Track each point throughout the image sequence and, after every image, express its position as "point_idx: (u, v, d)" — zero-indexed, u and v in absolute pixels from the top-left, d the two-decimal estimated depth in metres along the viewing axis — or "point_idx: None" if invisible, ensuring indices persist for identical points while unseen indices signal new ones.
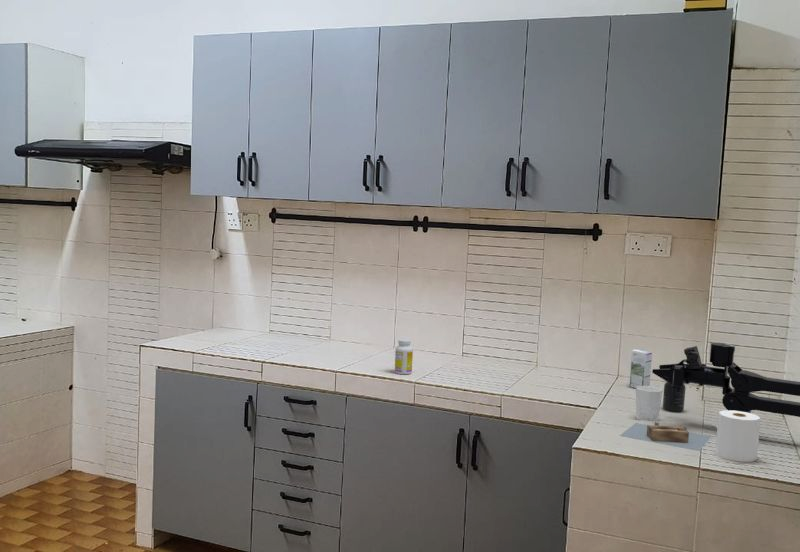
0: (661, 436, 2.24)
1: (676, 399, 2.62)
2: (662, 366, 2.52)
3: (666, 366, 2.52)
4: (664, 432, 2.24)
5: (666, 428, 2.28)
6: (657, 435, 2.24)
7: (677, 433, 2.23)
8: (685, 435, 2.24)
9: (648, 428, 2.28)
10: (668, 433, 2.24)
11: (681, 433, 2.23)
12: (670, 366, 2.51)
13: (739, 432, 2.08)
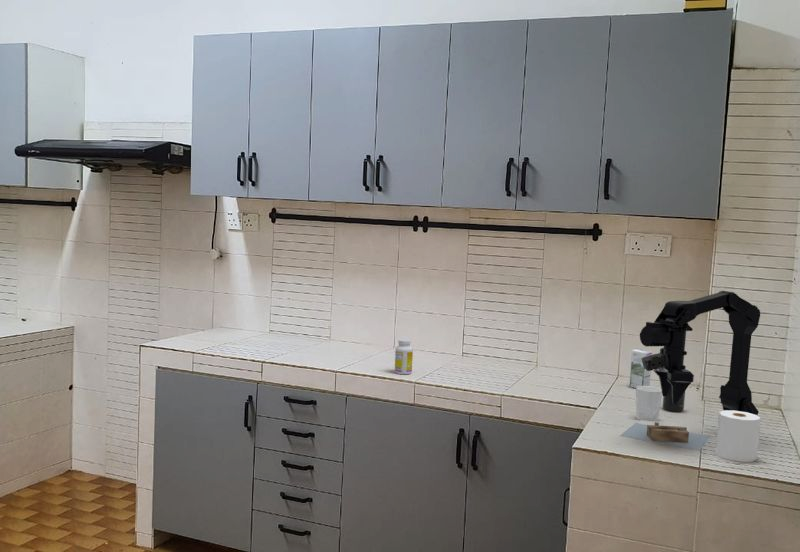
0: (661, 436, 2.24)
1: None
2: (664, 393, 2.30)
3: (663, 388, 2.30)
4: (664, 432, 2.24)
5: (666, 428, 2.28)
6: (657, 435, 2.24)
7: (677, 433, 2.23)
8: (685, 435, 2.24)
9: (648, 428, 2.28)
10: (668, 433, 2.24)
11: (681, 433, 2.23)
12: (663, 384, 2.30)
13: (739, 432, 2.08)
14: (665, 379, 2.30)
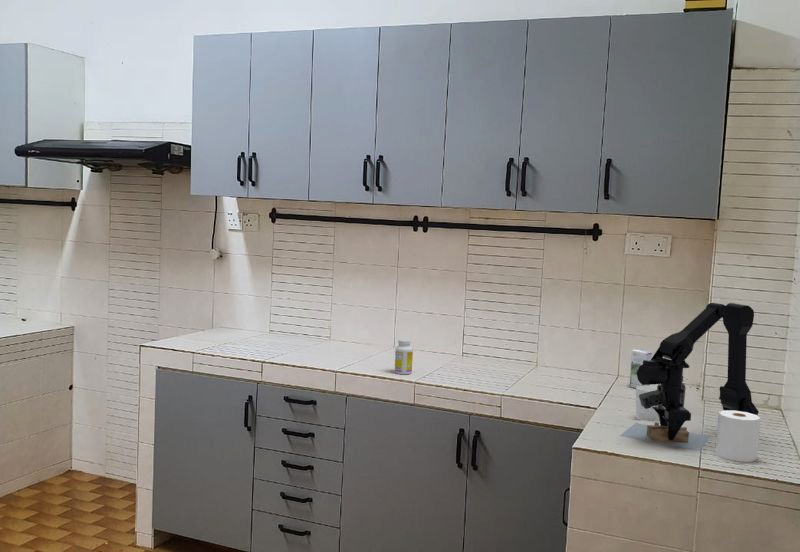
0: (661, 436, 2.24)
1: None
2: None
3: None
4: (664, 432, 2.24)
5: (666, 428, 2.28)
6: (657, 435, 2.24)
7: (677, 433, 2.23)
8: (685, 435, 2.24)
9: (648, 428, 2.28)
10: None
11: (681, 433, 2.23)
12: (662, 422, 2.30)
13: (739, 432, 2.08)
14: (664, 416, 2.30)
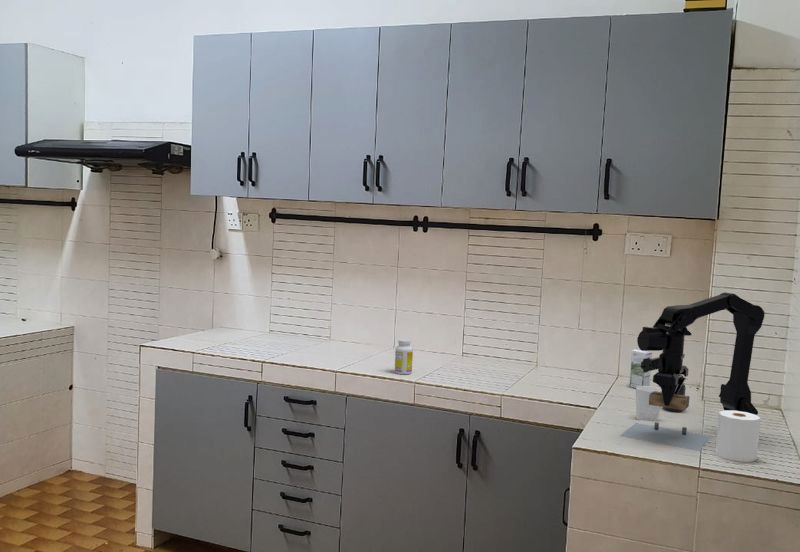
0: (657, 401, 2.28)
1: None
2: None
3: None
4: (660, 397, 2.28)
5: None
6: (653, 399, 2.29)
7: (673, 399, 2.26)
8: (681, 402, 2.25)
9: None
10: None
11: (677, 400, 2.25)
12: None
13: (739, 432, 2.08)
14: None
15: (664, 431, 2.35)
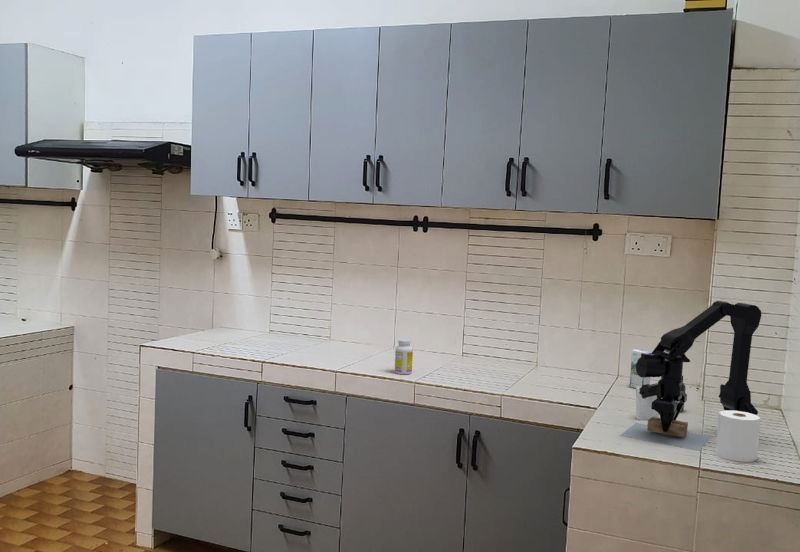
0: (655, 427, 2.30)
1: None
2: None
3: None
4: (658, 423, 2.29)
5: None
6: (652, 425, 2.30)
7: (671, 426, 2.27)
8: (680, 429, 2.26)
9: None
10: None
11: (676, 426, 2.27)
12: None
13: (739, 432, 2.08)
14: None
15: None
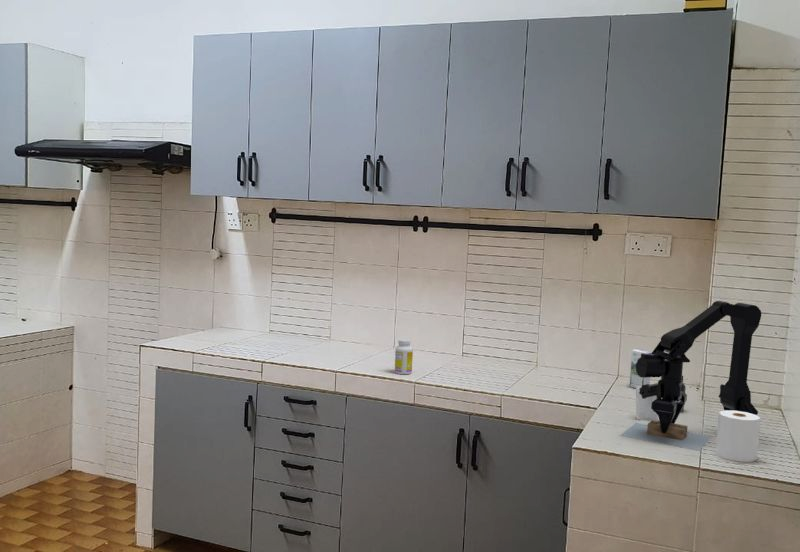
0: (655, 430, 2.30)
1: None
2: None
3: None
4: (658, 427, 2.29)
5: None
6: (651, 429, 2.30)
7: (671, 429, 2.27)
8: (679, 432, 2.26)
9: None
10: None
11: (675, 430, 2.27)
12: None
13: (739, 432, 2.08)
14: None
15: None
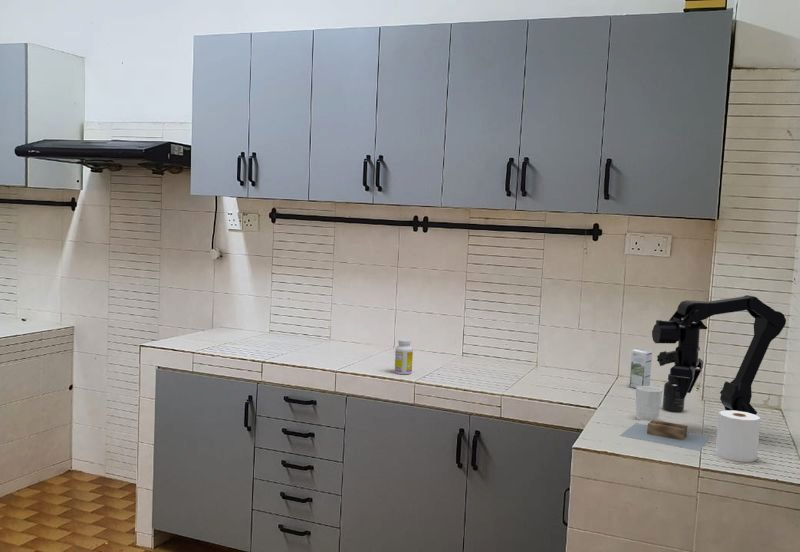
0: (655, 430, 2.30)
1: (676, 399, 2.62)
2: (687, 389, 2.38)
3: None
4: (658, 427, 2.29)
5: (668, 424, 2.32)
6: (651, 429, 2.30)
7: (671, 429, 2.27)
8: (679, 432, 2.26)
9: None
10: (662, 428, 2.29)
11: (675, 430, 2.27)
12: None
13: (739, 432, 2.08)
14: None
15: None
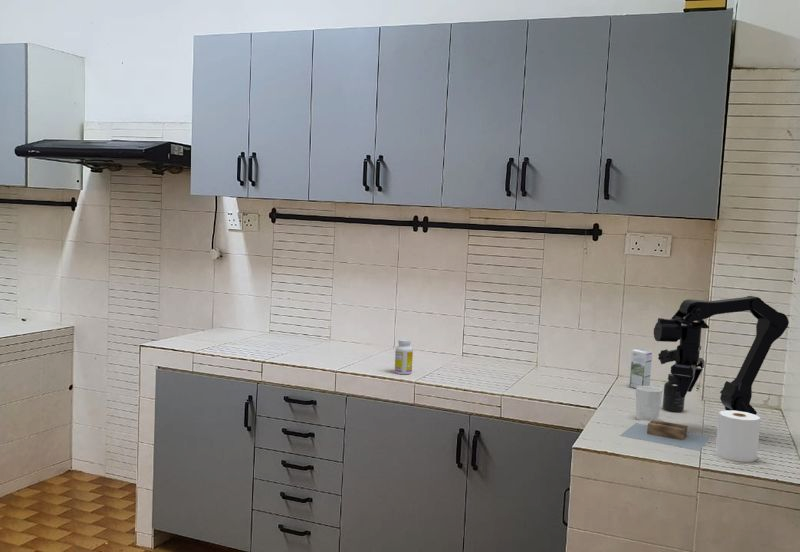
0: (655, 430, 2.30)
1: (676, 399, 2.62)
2: (688, 388, 2.39)
3: None
4: (658, 427, 2.29)
5: (668, 424, 2.32)
6: (651, 429, 2.30)
7: (671, 429, 2.27)
8: (679, 432, 2.26)
9: None
10: (662, 428, 2.29)
11: (675, 430, 2.27)
12: None
13: (739, 432, 2.08)
14: None
15: None
